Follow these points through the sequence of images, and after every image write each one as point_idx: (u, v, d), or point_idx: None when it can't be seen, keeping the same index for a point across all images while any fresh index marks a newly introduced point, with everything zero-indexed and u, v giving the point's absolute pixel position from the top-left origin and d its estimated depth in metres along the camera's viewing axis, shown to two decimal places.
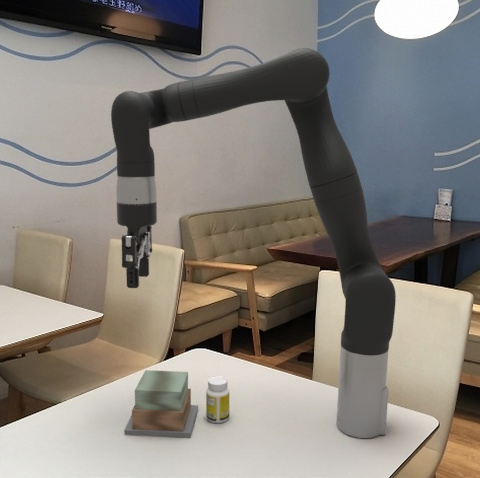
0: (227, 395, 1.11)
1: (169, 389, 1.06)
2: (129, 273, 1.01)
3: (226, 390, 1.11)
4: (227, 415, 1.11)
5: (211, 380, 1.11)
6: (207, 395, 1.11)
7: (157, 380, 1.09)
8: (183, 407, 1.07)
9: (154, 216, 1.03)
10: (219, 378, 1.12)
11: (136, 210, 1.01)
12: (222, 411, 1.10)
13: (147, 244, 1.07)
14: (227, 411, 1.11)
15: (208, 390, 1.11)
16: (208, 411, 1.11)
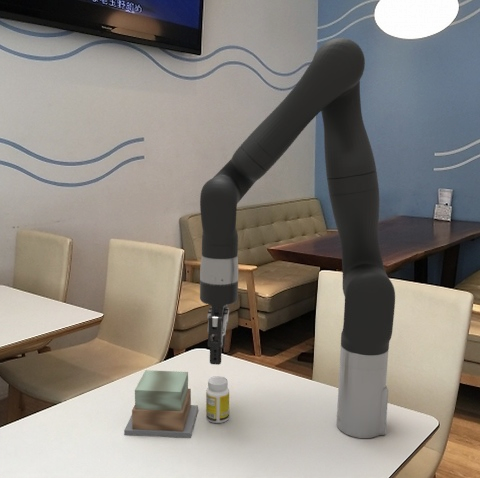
0: (227, 395, 1.11)
1: (169, 389, 1.06)
2: (213, 351, 1.04)
3: (226, 390, 1.11)
4: (227, 415, 1.11)
5: (211, 380, 1.11)
6: (207, 395, 1.11)
7: (157, 380, 1.09)
8: (183, 407, 1.07)
9: (236, 294, 1.06)
10: (219, 378, 1.12)
11: (221, 290, 1.04)
12: (222, 411, 1.10)
13: None
14: (227, 411, 1.11)
15: (208, 390, 1.11)
16: (208, 411, 1.11)
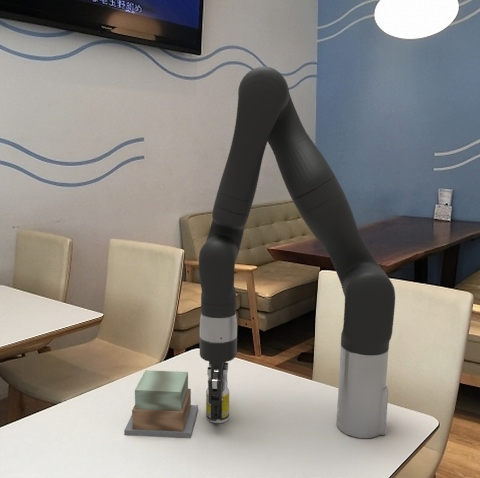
0: (227, 395, 1.11)
1: (169, 389, 1.06)
2: (214, 407, 1.08)
3: (226, 390, 1.11)
4: (227, 415, 1.11)
5: None
6: (207, 395, 1.11)
7: (157, 380, 1.09)
8: (183, 407, 1.07)
9: (235, 350, 1.09)
10: None
11: (220, 348, 1.06)
12: (222, 411, 1.10)
13: None
14: (227, 411, 1.11)
15: (208, 390, 1.11)
16: (208, 411, 1.11)
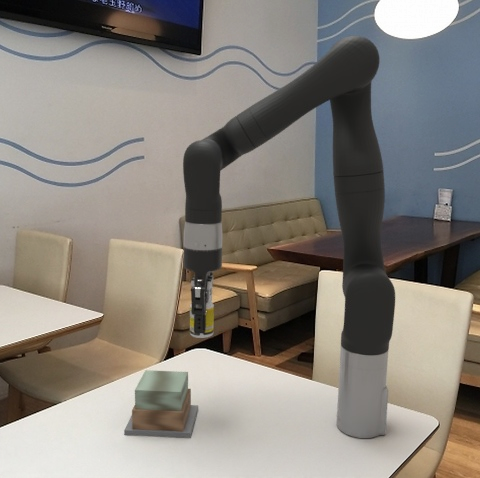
0: (211, 309, 1.07)
1: (169, 389, 1.06)
2: (197, 319, 1.04)
3: (210, 304, 1.07)
4: (211, 330, 1.07)
5: None
6: (190, 309, 1.07)
7: (157, 380, 1.09)
8: (183, 407, 1.07)
9: (220, 261, 1.05)
10: None
11: (204, 256, 1.02)
12: None
13: (210, 288, 1.08)
14: (211, 326, 1.07)
15: None
16: (191, 325, 1.07)
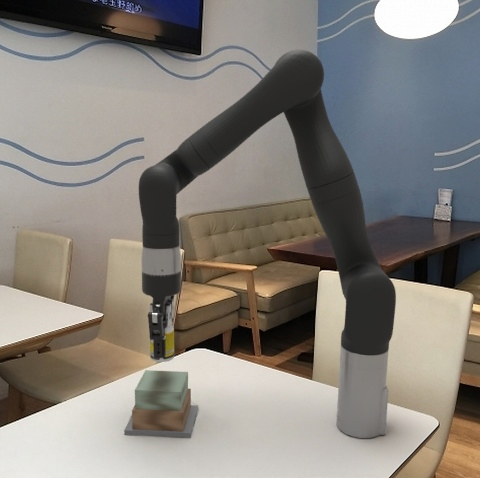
0: (171, 333, 1.06)
1: (169, 389, 1.06)
2: (156, 344, 1.04)
3: (170, 328, 1.06)
4: (171, 354, 1.07)
5: None
6: None
7: (157, 380, 1.09)
8: (183, 407, 1.07)
9: (179, 285, 1.04)
10: None
11: (161, 281, 1.01)
12: None
13: (170, 312, 1.08)
14: (171, 350, 1.07)
15: None
16: (151, 350, 1.06)
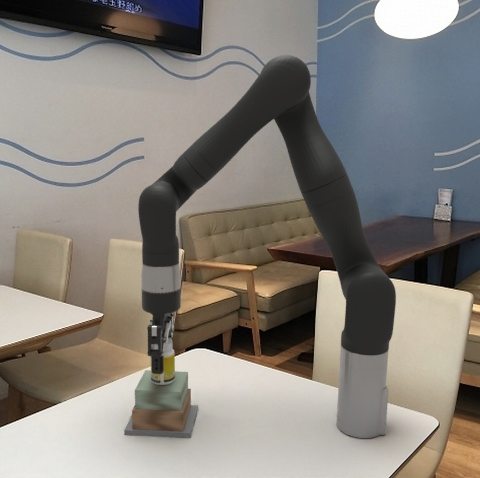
0: (171, 356, 1.07)
1: (169, 389, 1.06)
2: (154, 360, 1.03)
3: (171, 351, 1.07)
4: (172, 377, 1.08)
5: None
6: None
7: None
8: (183, 407, 1.07)
9: (178, 302, 1.05)
10: None
11: (161, 299, 1.02)
12: (166, 373, 1.07)
13: (170, 326, 1.09)
14: (172, 373, 1.08)
15: None
16: (152, 373, 1.07)
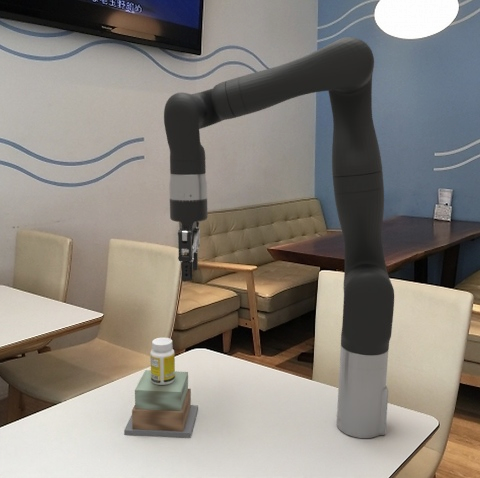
0: (171, 356, 1.07)
1: (169, 389, 1.06)
2: (184, 266, 1.06)
3: (170, 351, 1.07)
4: (172, 377, 1.08)
5: (156, 341, 1.08)
6: (151, 356, 1.07)
7: None
8: (183, 407, 1.07)
9: (206, 212, 1.08)
10: (164, 339, 1.08)
11: (190, 206, 1.05)
12: (166, 373, 1.07)
13: (197, 239, 1.12)
14: (172, 373, 1.08)
15: (152, 351, 1.07)
16: (152, 373, 1.07)
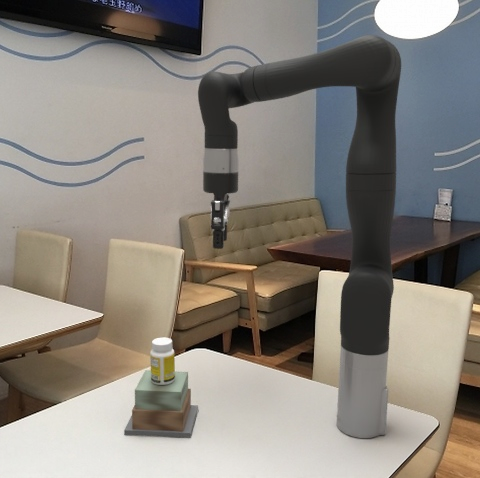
0: (171, 356, 1.07)
1: (169, 389, 1.06)
2: (216, 235, 1.13)
3: (170, 351, 1.07)
4: (172, 377, 1.08)
5: (155, 341, 1.08)
6: (151, 356, 1.07)
7: None
8: (183, 407, 1.07)
9: (237, 184, 1.15)
10: (164, 339, 1.08)
11: (222, 178, 1.13)
12: (166, 373, 1.07)
13: (228, 211, 1.20)
14: (172, 373, 1.08)
15: (152, 351, 1.07)
16: (152, 373, 1.07)
